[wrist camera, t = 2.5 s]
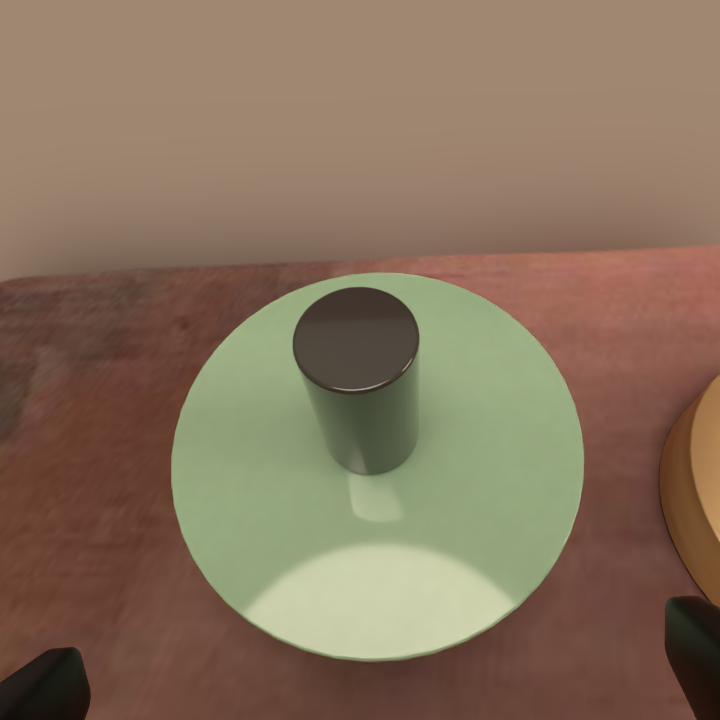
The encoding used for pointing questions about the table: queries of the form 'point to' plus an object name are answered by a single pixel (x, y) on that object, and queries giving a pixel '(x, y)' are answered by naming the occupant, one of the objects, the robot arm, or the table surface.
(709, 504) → the disc
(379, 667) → the table surface
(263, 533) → the lid
